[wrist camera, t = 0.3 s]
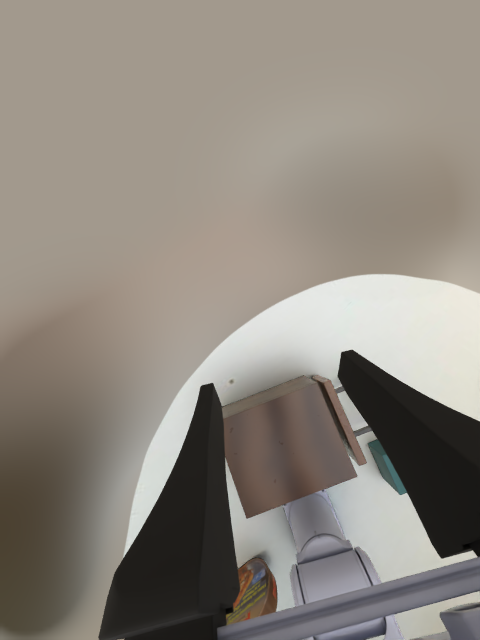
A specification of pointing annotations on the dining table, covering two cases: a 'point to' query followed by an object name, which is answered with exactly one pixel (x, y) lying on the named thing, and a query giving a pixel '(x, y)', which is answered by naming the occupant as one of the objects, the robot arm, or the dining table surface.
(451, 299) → the dining table surface
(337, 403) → the drawer
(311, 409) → the cabinet
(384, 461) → the tea box
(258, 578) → the tin
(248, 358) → the dining table surface
